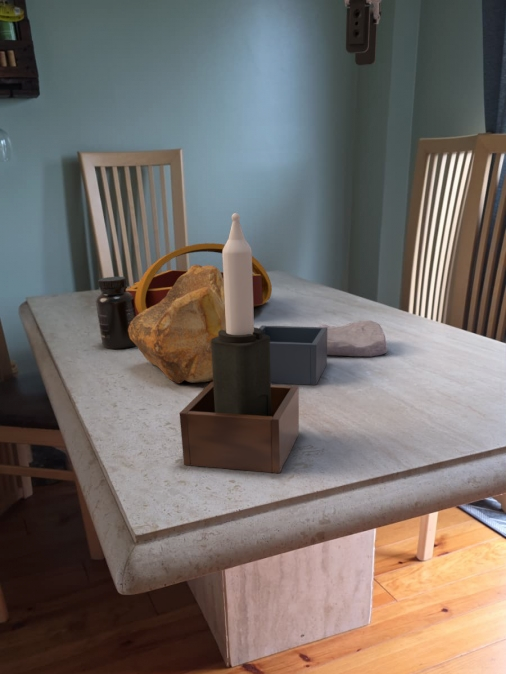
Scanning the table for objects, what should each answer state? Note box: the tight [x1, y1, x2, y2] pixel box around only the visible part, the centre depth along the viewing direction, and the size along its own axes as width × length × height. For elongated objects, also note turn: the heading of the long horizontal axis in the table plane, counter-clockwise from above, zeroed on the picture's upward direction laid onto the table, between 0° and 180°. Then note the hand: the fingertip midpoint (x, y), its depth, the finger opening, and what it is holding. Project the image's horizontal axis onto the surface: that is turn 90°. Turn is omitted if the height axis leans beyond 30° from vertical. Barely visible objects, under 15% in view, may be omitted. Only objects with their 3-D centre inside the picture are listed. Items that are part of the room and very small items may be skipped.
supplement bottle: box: [95, 276, 136, 350], centre depth 112 cm, size 7×7×12 cm
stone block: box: [317, 320, 388, 357], centre depth 106 cm, size 12×5×10 cm
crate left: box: [179, 381, 300, 474], centre depth 69 cm, size 11×11×6 cm
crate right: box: [258, 325, 328, 386], centre depth 95 cm, size 11×11×6 cm
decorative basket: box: [126, 242, 273, 316], centre depth 136 cm, size 34×29×15 cm
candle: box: [211, 212, 272, 416], centre depth 65 cm, size 5×5×25 cm
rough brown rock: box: [128, 264, 226, 384], centre depth 97 cm, size 23×17×15 cm
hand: (361, 59), depth 66 cm, fingers open, 8 cm apart
